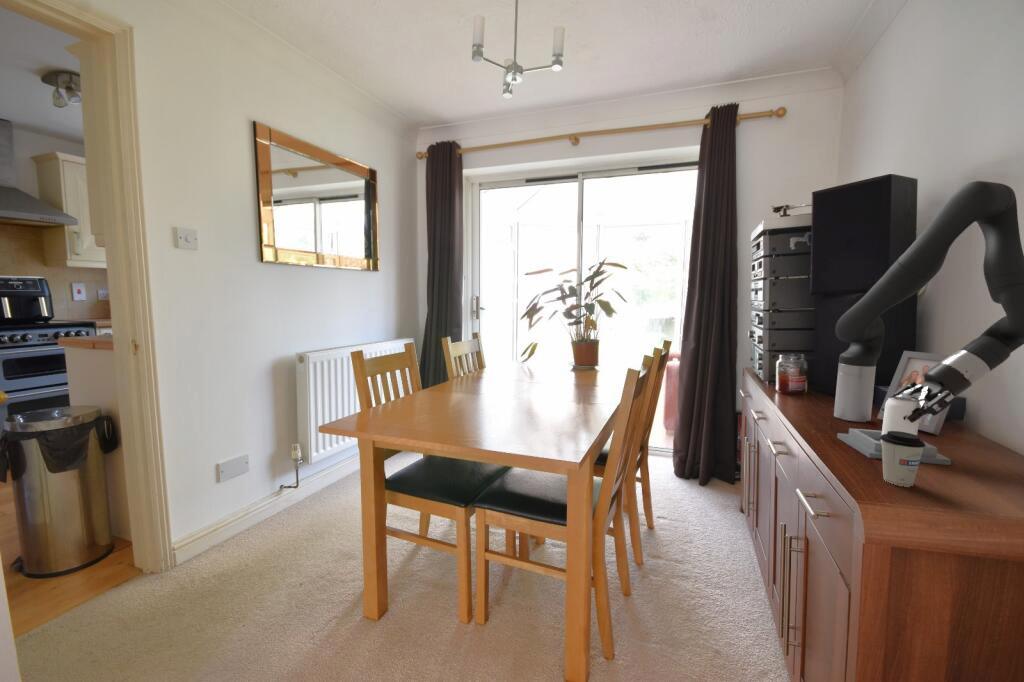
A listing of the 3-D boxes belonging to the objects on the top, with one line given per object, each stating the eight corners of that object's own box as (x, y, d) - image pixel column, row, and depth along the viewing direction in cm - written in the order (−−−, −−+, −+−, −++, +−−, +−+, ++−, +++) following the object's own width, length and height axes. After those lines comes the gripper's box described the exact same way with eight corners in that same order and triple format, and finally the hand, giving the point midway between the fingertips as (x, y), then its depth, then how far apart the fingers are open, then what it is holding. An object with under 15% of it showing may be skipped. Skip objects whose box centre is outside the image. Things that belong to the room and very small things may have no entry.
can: (922, 452, 105) (928, 402, 105) (891, 449, 107) (897, 399, 106) (903, 445, 112) (909, 397, 111) (874, 442, 113) (880, 395, 112)
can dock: (837, 437, 121) (838, 425, 120) (906, 443, 117) (907, 431, 117) (869, 457, 105) (870, 444, 105) (950, 465, 102) (952, 451, 101)
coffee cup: (867, 475, 94) (871, 429, 93) (897, 475, 95) (902, 429, 94) (897, 489, 88) (903, 440, 87) (930, 489, 88) (936, 439, 87)
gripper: (924, 358, 114) (867, 399, 118) (966, 366, 100) (900, 412, 104) (946, 379, 113) (889, 420, 117) (992, 391, 99) (925, 436, 103)
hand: (894, 416), depth 110 cm, fingers open, 8 cm apart
